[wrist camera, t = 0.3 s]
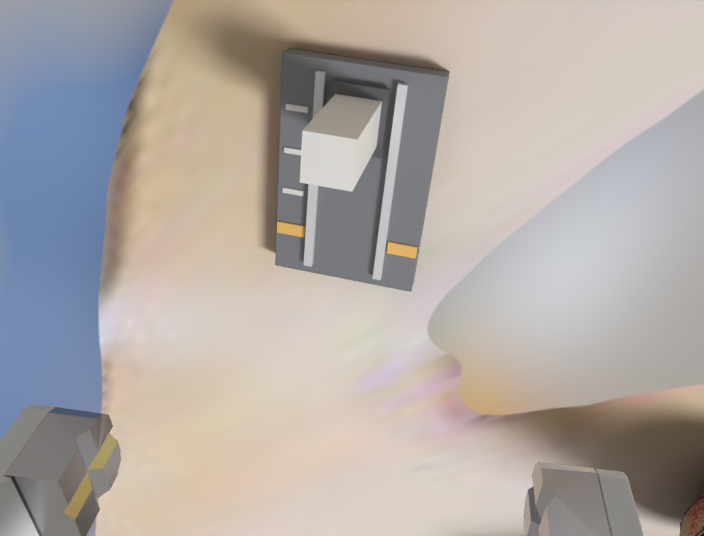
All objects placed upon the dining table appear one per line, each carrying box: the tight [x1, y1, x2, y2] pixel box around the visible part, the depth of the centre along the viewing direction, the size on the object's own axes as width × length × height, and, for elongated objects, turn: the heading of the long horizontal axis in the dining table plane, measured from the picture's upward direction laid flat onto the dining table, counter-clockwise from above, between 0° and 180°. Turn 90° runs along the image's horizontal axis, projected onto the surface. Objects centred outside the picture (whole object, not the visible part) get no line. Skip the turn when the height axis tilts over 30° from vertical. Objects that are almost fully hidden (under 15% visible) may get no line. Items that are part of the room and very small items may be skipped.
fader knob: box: [300, 80, 390, 192], centre depth 50 cm, size 6×5×10 cm
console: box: [275, 48, 449, 292], centre depth 58 cm, size 21×14×3 cm, turn 174°
